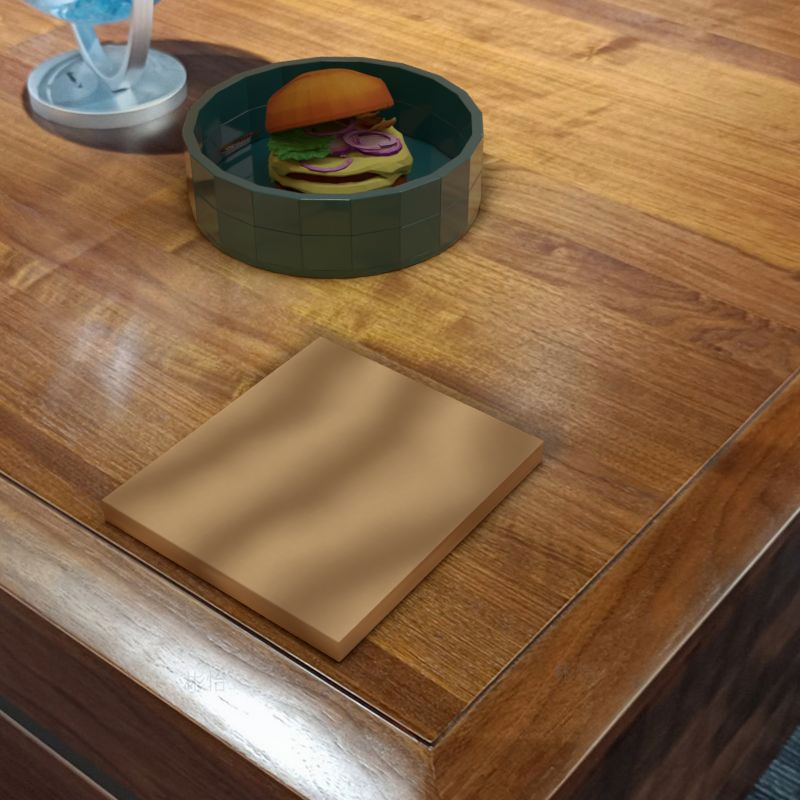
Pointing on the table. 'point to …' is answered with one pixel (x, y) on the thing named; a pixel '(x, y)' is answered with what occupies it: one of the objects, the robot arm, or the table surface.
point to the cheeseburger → (334, 135)
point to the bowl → (334, 213)
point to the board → (325, 492)
